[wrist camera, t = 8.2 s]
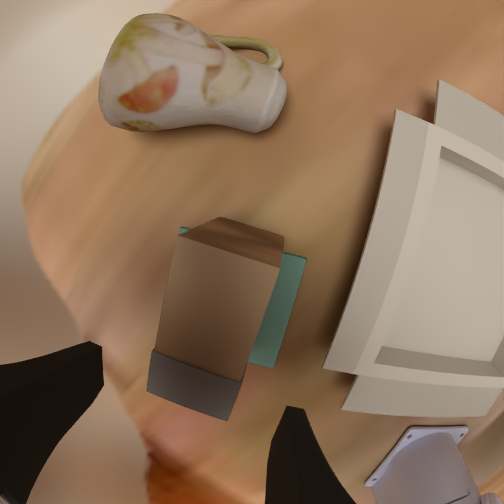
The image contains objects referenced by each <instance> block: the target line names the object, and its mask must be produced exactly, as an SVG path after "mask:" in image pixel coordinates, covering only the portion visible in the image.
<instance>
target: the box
mask: <svg viewBox="0 0 504 504" xmlns="http://www.w3.org/2000/svg"><path fill="white" fill-rule="evenodd" d="M283 242H284V237H282V236H279V235H276V234H273V233H269V232H266V231H263V230H260V229H257V228H254V227H250V226H247V225H244V224H241V223H238V222H234V221H231V220H228V219H225V218H221V217H219V218H216V219H214V220H211V221H209V222H207V223H204V224H202V225H200V226H197V227H195V228H193V229H190V230H188V231H186V232H184V233H181V234H179V235H177V239H176V243H175V248H174V252H173V257H172V261H171V266H170V270H169V275H168V280H167V285H166V290H165V295H164V300H163V305H162V311H161V316H160V322H159V327H158V333H157V339H156V345H155V348H154V349H153V350H152V353H151V360H150V367H149V374H148V382H147V390H146V391H147V392H150V393H152V394H154V395H157V396H159V397H161V398H164V399H166V400H169V401H171V402H174V403H176V404H179V405H182V406H184V407H187V408H190V409H192V410H195V411H198V412H201V413H204V414H207V415H209V416H212V417H215V418H219V419H222V420H225V421H228V419H229V416H230V414H231V411H232V408H233V406H234V403H235V401H236V398H237V395H238V393H239V390H240V388H241V385H242V382H243V378H244V374H245V370H246V366H247V363H248V359H249V356H250V353H251V351H252V348H253V345H254V342H255V340H256V337H257V334H258V331H259V328H260V325H261V323H262V320H263V317H264V314H265V311H266V308H267V305H268V303H269V300H270V297H271V294H272V291H273V288H274V285H275V282H276V279H277V276H278V273H279V270H280V266H281V258H282V250H283Z"/></svg>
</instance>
